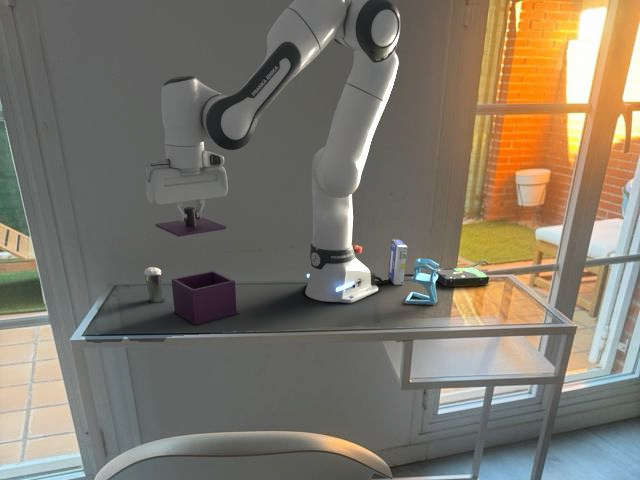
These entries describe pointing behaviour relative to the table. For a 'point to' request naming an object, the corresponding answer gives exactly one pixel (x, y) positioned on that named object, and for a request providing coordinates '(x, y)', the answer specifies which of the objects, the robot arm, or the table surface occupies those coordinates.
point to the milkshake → (154, 283)
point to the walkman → (397, 262)
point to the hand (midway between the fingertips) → (190, 219)
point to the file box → (204, 297)
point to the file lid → (190, 225)
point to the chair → (424, 282)
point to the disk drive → (461, 276)
